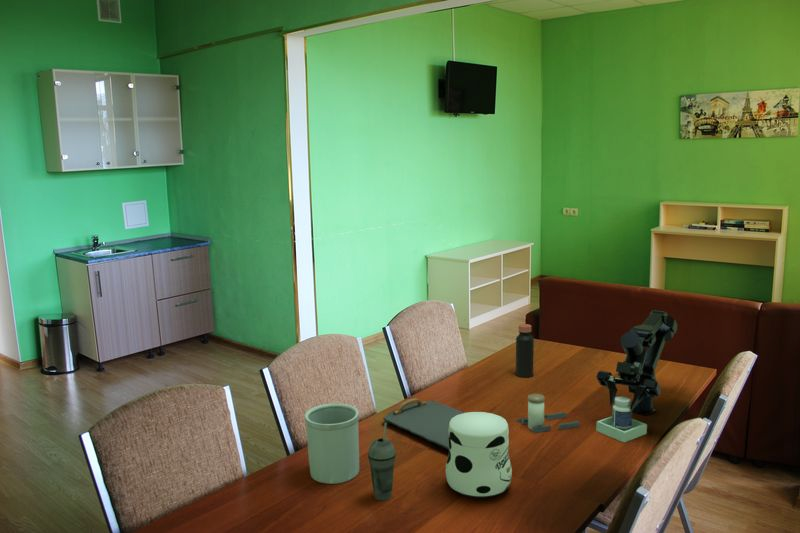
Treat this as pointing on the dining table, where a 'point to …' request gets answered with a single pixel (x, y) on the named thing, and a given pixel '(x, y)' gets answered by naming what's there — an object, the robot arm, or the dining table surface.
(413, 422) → the serving board
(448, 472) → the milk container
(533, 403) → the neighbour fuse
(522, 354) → the black water bottle
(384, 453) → the beverage cup
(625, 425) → the pill bottle
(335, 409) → the utensil holder
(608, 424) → the tray
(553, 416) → the set of grey bars
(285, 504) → the dining table surface
